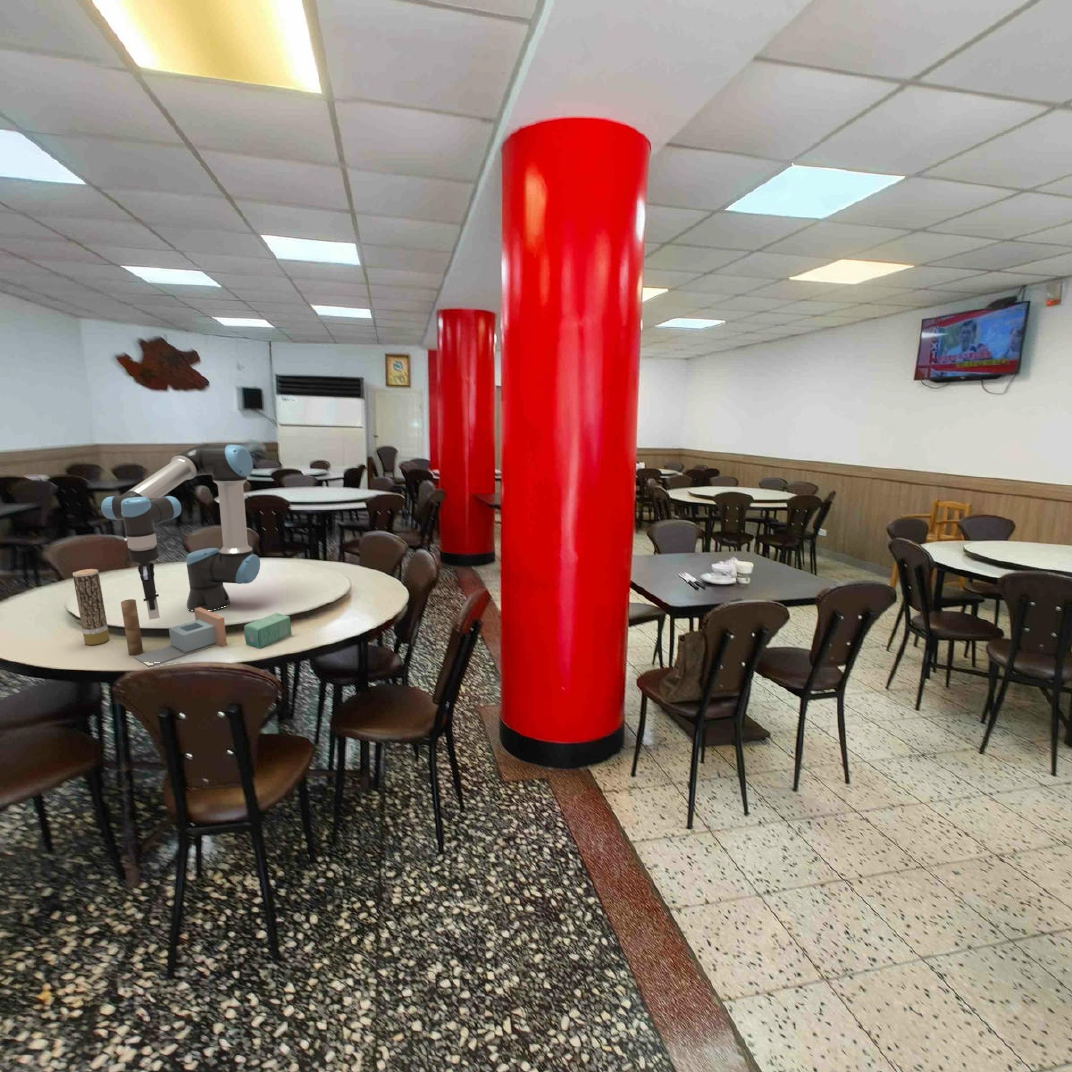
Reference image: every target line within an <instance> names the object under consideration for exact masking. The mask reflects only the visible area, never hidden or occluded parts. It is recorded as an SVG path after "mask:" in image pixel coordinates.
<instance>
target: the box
mask: <svg viewBox="0 0 1072 1072" xmlns="http://www.w3.org/2000/svg"><path fill="white" fill-rule="evenodd" d="M243 628H244V629H243V630H244V641H245V644H246V645H248V646H251V647H254V648H258V649H263V648H265V647H268V646H270V645H272V644H274V643H275V644H276V642H279V641H282V640H284V639H285V638H288V637H290V636H291V635H292V626H291V617H290V616H289V615H285V614H282V613H278V612H275V613H273V614H270V615H267V616H264V617H261V618H259V619H256V620H254V621H252V622H249V623H246V624H245V625H244V627H243Z"/></svg>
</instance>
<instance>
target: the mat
mask: <svg viewBox="0 0 1072 1072" xmlns="http://www.w3.org/2000/svg"><path fill="white" fill-rule="evenodd" d="M215 646H218V645H217V644H216V643H213V644H210V645H207V646H204V647H201V648H198V649H194V650H191V651H188V652H184V651H182V650H180V649H178V648H176V647H174V646H173V645H171V644H170V645H167V646H165V647H160V648H158V649H155V650H152V651H149V652H145V653H144V652H143V653H142V654H139V655H135V656H134V657H133V659H135V660H136V661H138V662H140V663H142V662H149V663H153V665H149V666H147V667H148V668H151V667H150V666H152V667H155V666H157V665H160V664H164V663H166V662H170V661H174V660H176V659H178V658H182V657H185V656H188V655H191V654H194V653H197V652H201V651H202V650H203V651H204V650H207V649H210V648H212V647H215ZM154 662H160V663H154ZM154 665H155V666H154Z"/></svg>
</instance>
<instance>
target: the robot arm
mask: <svg viewBox="0 0 1072 1072" xmlns="http://www.w3.org/2000/svg"><path fill="white" fill-rule="evenodd" d="M253 462H254V461H253V458H252V455H251V453H250V452H249V450H248V449H247V448H246V447H244V446H242V445H236V444H212V443H211V444H210V443H202V444H198V445H195V446H192V447H189V448H188V449H185V450H183V451H181V452H180V453H178V454H176V455H175V456H173V457H172V458H171V460H170V462H169V464H166V465H165V466H163V467H162V468H161V469H159V470H157V471H156V472H154V473H153V474H152V475H150V476H149V477H147V478H146V479H144V480H143V481H141V482H140V483H138V484H136V485H135V486H134V487H132V488H131V489H129V490H127V491H126V492H125V493H123V494H121V495H120V496H117V495H114V496H108V497H106V498H104V499H103V500H102V501H101V506H100V507H101V509H100V510H101V512H102V514H103V516H104V517H105V518H106V519H108V520H117V521H123V527H124V531H125V537H126V538H124V539H123V541H124V542H127V543H126V544H127V548H128V556H129V560H130V561H131V562H132V563H139V564H138V567H137V570H138V573H139V576H140V581H141V582H142V588H143V589H142V590H143V593H144V598H143V602H146V607H147V613H148V619H149V620H150V621H151V620H156V619H160V617H161V616H160V611H159V610H160V609H159V604H158V599H157V598H159V596H160V595H159V594H158V593H157V590H156V583H155V582H156V581H155V564H154V563H152V561H155V560H157V559H158V558H159V549H158V546H157V545H158V541H157V535H156V531H155V525H158V524H161V523H164V522H167V521H171V520H173V519H175V518H177V517H179V516H180V515H181V512H182V505H181V502H180V501H179V500H178V498H176V497H174V496H171V495H168V496H165V495H167V494H168V493H169V492H171V491H172V490H174V489H175V488H177V487H178V486H179V485H181V484H183V482H185V481H187V480H192V479H194V478H195V477H198V476H204V475H205V476H207V475H208V476H212V482H213V483H215V484H216V485H217V488H218V489H217V490H218V501H219V512H220V513H219V514H220V525H221V526H220V527H221V535H222V545H223V546H222V547H221V549H220V548H218V547H208V548H203V549H198V550H194V551H192V552H190V553H188V554H187V555H186V570H187V577H188V585H189V593H188V597H187V602H186V608H188V609H189V610H193V611H194V609H195V608H199V607H201V608H203V609H206V610H214V609H218V608H221V607H224V606H227V605H228V606H230V605H231V599H230V596H229V594H228V592H227V591H226V588H225V586H224V584H237V585H242V584H245V585H246V584H250V583H253V581H254V580H256V578H257V576H258V574H259V572H260V568H261V559H260V557H259V556H258V555H257V554H254V552H253V547H252V546H250V545H249V544H248V530H247V517H246V505H245V492H244V491H245V490H244V484H245V483H246V482H247V481H248V476H249V477H250V475H251V474H252V472H253V468H254V463H253ZM228 606H227V607H228ZM188 609H187V610H188ZM189 610H188V611H189Z"/></svg>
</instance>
